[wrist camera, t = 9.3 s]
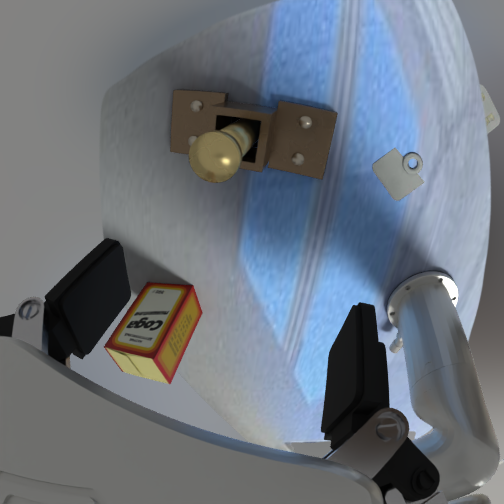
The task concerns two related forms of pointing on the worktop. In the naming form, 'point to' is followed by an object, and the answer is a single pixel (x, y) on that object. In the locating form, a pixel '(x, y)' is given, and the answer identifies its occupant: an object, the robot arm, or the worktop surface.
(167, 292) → the baking soda box
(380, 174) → the mounting bracket
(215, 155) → the pin
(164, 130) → the worktop surface
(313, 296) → the worktop surface
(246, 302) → the worktop surface
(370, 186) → the worktop surface
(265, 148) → the hinge base
